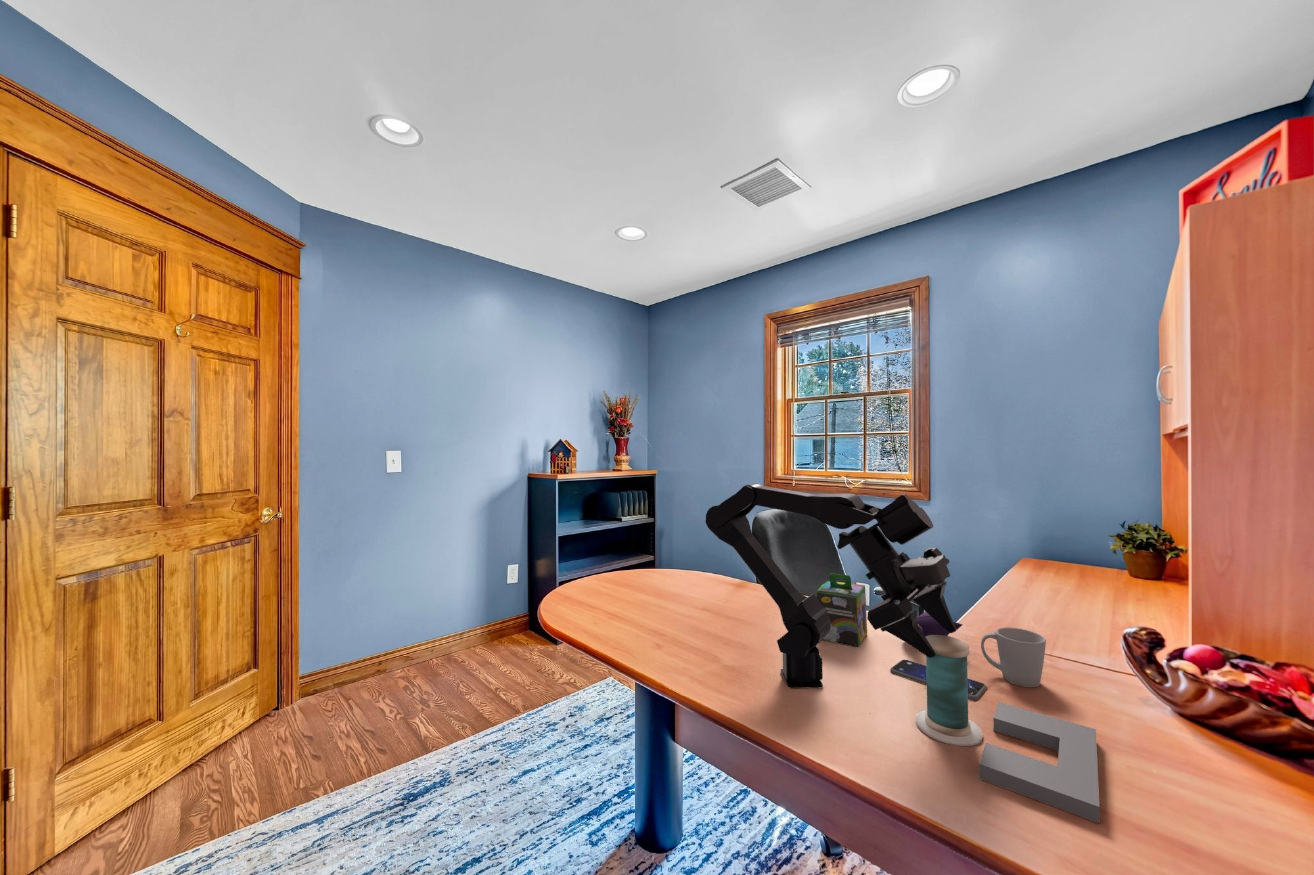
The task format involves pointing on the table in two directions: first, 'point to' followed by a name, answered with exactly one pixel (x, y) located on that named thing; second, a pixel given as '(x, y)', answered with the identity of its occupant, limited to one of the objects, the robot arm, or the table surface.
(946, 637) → the bobbin
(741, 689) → the table surface
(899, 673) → the smartphone
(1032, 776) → the notched board
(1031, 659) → the cup
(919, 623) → the toy
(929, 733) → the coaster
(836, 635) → the chalk box
